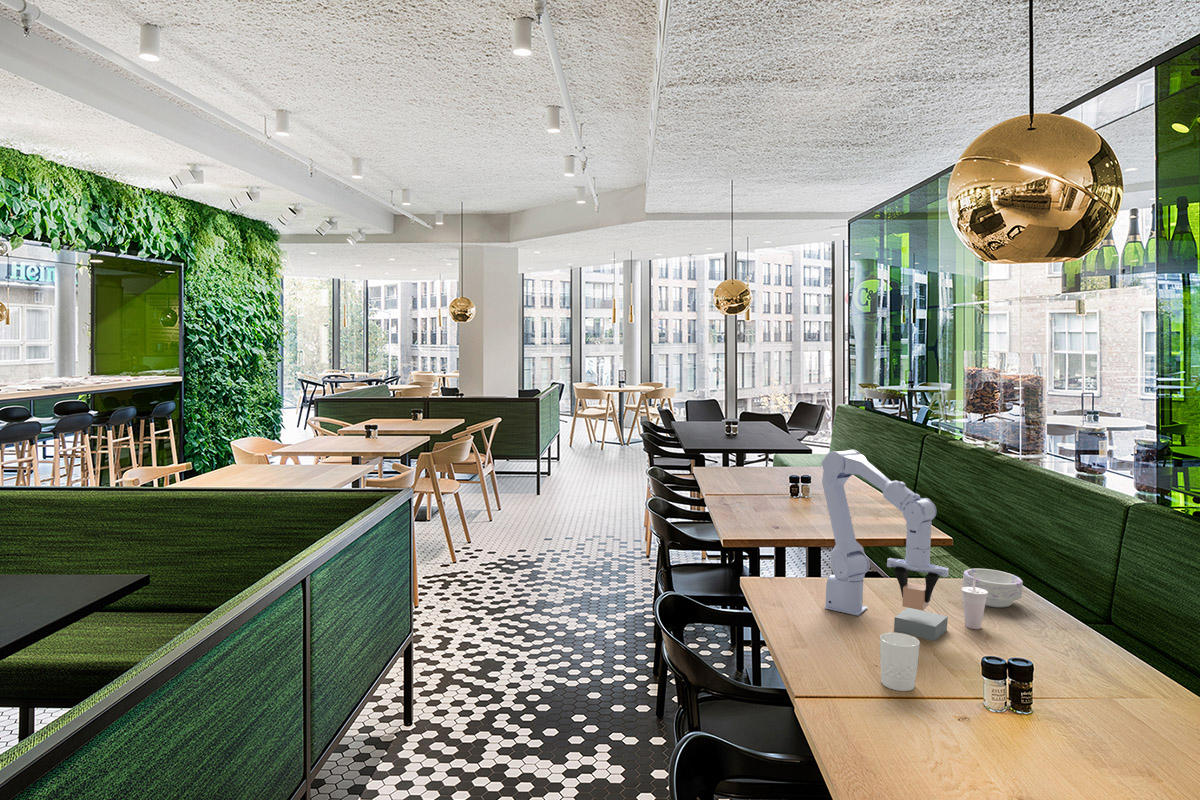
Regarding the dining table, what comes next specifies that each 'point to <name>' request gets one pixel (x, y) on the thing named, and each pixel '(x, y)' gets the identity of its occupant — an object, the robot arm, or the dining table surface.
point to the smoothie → (974, 605)
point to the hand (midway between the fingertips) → (915, 599)
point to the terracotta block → (914, 596)
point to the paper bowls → (995, 586)
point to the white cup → (898, 660)
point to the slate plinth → (920, 624)
